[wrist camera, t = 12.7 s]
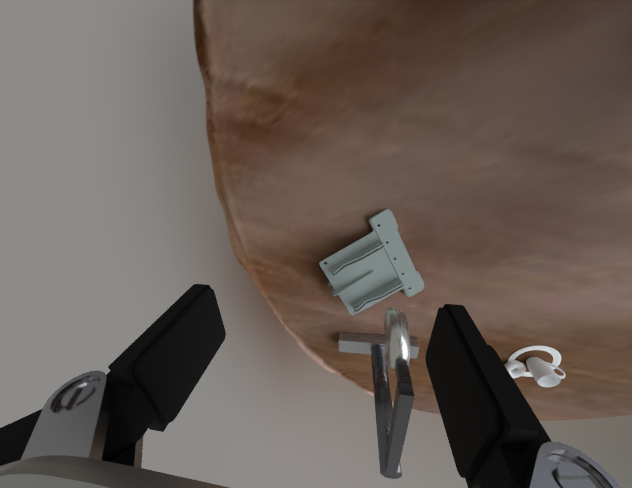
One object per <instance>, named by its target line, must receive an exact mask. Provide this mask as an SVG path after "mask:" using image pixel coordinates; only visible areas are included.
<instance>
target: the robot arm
mask: <svg viewBox="0 0 632 488" xmlns="http://www.w3.org/2000/svg"><path fill="white" fill-rule="evenodd" d="M225 335H226V333H225V329H224V325H223V321H222V318H221V314H220V311H219V308H218V304H217V300H216V297H215V293H214V290H213V289H211V287H210V286H209V285H202V284H195V285H193V286H192V287H191V288H190V289H189V290H188V291H186V293H184V294H183V295H182V296H181V297H180V298H179V299H178V300H177V301H176V302H175V303H174V304H173V305H172V306H171V307H170V308H169V309H168V310H167V311H166V312H165V313H164V314H163V315H161V317H159V318H158V319H157V320H156V321H155V322H154V323H153V324H152V325H151V326H150V327H149V328H148V329H147V330H146V331H145V332H144V333H143V334H142V335H141V336H140V337H139V338H138V339H137V340H135V342H133V343H132V344H131V345H130V346H129V347H128V348H127V349H126V350H125V351H124V352H123V353H122V354H121V355H120V356H119V357H118V358H117V359H116V360H115V361H114V362H113V363H112V364H110V365H109V366H108V367H109V369H110V370H111V371H110V372H109V373H108V374H107V375H106V374H105V373H104V372H101V371H91V372H87V373H84V374H81V375H79V376H77V377H75V378H73V379H72V380H70V381H68V382H67V383H65V384H64V385H63V386H61V387H60V388H59V389H58V390H57V391H55V393H53V394H52V396H51V397H50V398H49V399H48V400H47V402H46V404H45V405H44V407H43V409H41V410H39V411H37V412H35V413H32V414H30V415H28V416H26V417H24V418H21V419H19V420H17V421H15V422H13V423H11V424H8V425H6V426H4V427H2V428H0V488H229V487H224V486H220V485H215V484H211V483H206V482H202V481H197V480H192V479H188V478H183V477H179V476H174V475H170V474H165V473H161V472H156V471H151V470H147V469H142V468H141V462H142V447H143V435H144V433H145V432H146V430H147V429H148V428H149V429H151V430H157V431H162V432H163V431H164V430H165V428H166V427H167V425H168V423H169V422H172V421H173V420H174V419H175V418H176V416H177V415H178V413H179V411H180V410H181V408H182V406H183V405H184V403H185V402H186V400H187V399H188V397H189V395H190V394H191V392H192V391H193V389H194V387H195V386H196V384H197V383H198V381H199V379H200V378H201V376H202V375H203V373H204V371H205V370H206V368H207V366H208V365H209V363H210V362H211V360H212V358H213V357H214V355H215V354H216V352H217V351H218V349H219V347H220V346H221V344H222V343H223V341H224V339H225ZM426 365H427V368H428V372H429V375H430V379H431V382H432V385H433V389H434V392H435V396H436V399H437V402H438V406H439V409H440V413H441V416H442V419H443V423H444V426H445V430H446V433H447V437H448V440H449V443H450V447H451V450H452V454H453V457H454V460H455V463H456V467H457V470H458V472H459V475H460V476H461V477H463V478H465V479H466V482H467V485H468V488H620V486H619V485H618V484H617V483H616V482H615V480H614V479H613V478H612V477H611V476H610V475H609V474H608V473H607V472H606V471H605V470H604V469H603V468H602V467H601V466H600V465H599V464H598V463H596V462H595V461H594V460H592V459H591V458H589V457H588V456H587V455H586V454H584V453H582V452H581V451H579V450H577V449H575V448H573V447H571V446H569V445H566V444H563V443H560V442H551V440H550V438H549V437H548V435H547V433H546V432H545V430H544V428H543V427H542V425H541V424H540V422H539V420H538V419H537V417H536V415H535V414H534V412H533V411H532V409H531V407H530V406H529V404H528V403H527V401H526V399H525V398H524V396H523V395H522V393H521V391H520V390H519V388H518V386H517V385H516V383H515V382H514V380H513V378H512V377H511V375H510V374H509V372H508V370H507V369H506V367H505V366H504V364H503V362H502V361H501V359H500V357H499V356H498V354H497V353H496V351H495V350H494V349H493V347H491V346H490V345H487V344H486V342H485V340H484V339H483V337H482V335H481V334H480V332H479V330H478V329H477V327H476V325H475V324H474V322H473V320H472V319H471V317H470V315H469V314H468V312H467V310H466V309H465V307H464V306H462V305H452V304H445V305H444V307H443V308H439V309H438V313H437V316H436V320H435V323H434V327H433V331H432V334H431V338H430V342H429V345H428V349H427V352H426Z"/></svg>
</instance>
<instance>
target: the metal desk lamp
mask: <svg viewBox="0 0 632 488" xmlns="http://www.w3.org/2000/svg"><path fill="white" fill-rule="evenodd" d="M418 351H419V344H418V341H417V338H414V337H409V329H408V323H407V319H406V316H405V313H404V312H403V311H396V310H393V309H392V308H390V307H389V308H387V311H386V314H385V322H384V335H374V334H361V333H347V332H339V352H348V353H360V354H371V359H372V372H373V384H374V397H375V410H376V423H377V435H378V448H379V461H380V473H381V474H382V475H383V476H384V477H387V478H392V479H395V478H400V477H401V476H402V473H401V466H400V458H401V453H402V449H403V445H404V440H405V435H406V431H407V427H408V422H409V418H410V413H411V409H412V404H413V400H414V393H413V388H412V382H411V378H410V374H409V369H408V366H409V361H410V358H416V359H417V356H418ZM385 356H386V358H385ZM386 360H387V365H388V367H389V369H395V370H396V376H397V387H396V393H395V400H394V406H393V408H392V401H391V394H390V386H389V379H388V372H387V365H386Z"/></svg>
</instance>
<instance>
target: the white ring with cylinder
mask: <svg viewBox="0 0 632 488" xmlns="http://www.w3.org/2000/svg"><path fill="white" fill-rule="evenodd" d="M530 350H543V351H546V352H549V353H550V354H551V355H552V356H553V362H552V364H550V363H548V362H545V361H543V360H542V359H540V358H538V357H530V358H528V359H527V360H526V364H527V367H528V369H529V371H530V372H525V371H526V367H525V365H524V364H523V363H522V362H520V361H516V360H515V358H516V357H517V356H518V355H520V354H522V353H524V352H526V351H530ZM560 362H561V355H560V354H559V352H558V351H557V350H555V349H553V348H551V347H547V346H529V347H525V348H522V349H520V350H518V351H516V352H514V353H513V354H512V355H511V356H510V357H509V359H508V361H507V363H506V364H505V365H504V366H505V367H506V369H507V370H508V372H509V374H510V375H511V377H512V378H517V377H520V376H527V377H534V379H535V380H536V382H537V383H538V384H539V385H540V386H542V387H553V386H556V385H558V384H559V383H560V381H561V379H563V378H564V377H565V372H564V371H563V370H561V369H560V368H558V365H559V364H560ZM549 365H550V366H549ZM555 368H556V369H558V370H559V371H561V372H562V373H563V374H564V375H563V376H560V375H557V374H556V373H555V372H554V371H553V370H554V369H555Z"/></svg>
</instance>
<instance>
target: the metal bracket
mask: <svg viewBox="0 0 632 488" xmlns="http://www.w3.org/2000/svg"><path fill="white" fill-rule="evenodd" d="M369 222H370V224H371V226H372V228H373V231H372V232H371V233H369V234H368V235H366V236H364V237H362V238H361V239H359V240H357V241H355V242H354V243H352V244H350V245H348V246H347V247H345V248H343V249H341V250H340V251H338V252H336V253H335V254H333V255H331V256H329V257H328V258H326V259H324V260H322V261H321V262H319V265H320V267H321V268H322V270H323V271H324V273H325V275H326V276H327V278H328V279H329V282H327V283H328V285H329V287H330V286H332V296H333V297H334V296H336V295H339V297H340V298H341V300H342V301H343V303H344V305H345V306H346V308H347V309H348V311H349V312H350V314H351V315H355V314H357V313H359V312H361V311H362V310H364V309H366V308H368V307H370V306H372V305H373V304H375V303H377V302H379V301H381V300H383V299H384V298H386V297H388V296H390V295H392V294H394V293H395V292H397V291H399V290H401V289H403V290H404V292H405V294H406V296H408V297H411V296H413V295H415V294H416V293H418V292H420V291H422V290H423V289H424V283H423V280H422V278H421V276H420V274H419V272H417V271H416V270H415V268H414V265H413V263H412V261H411V259H410V257H409V255H408V252H407V250H406V248H405V246H404V244H403V242H402V239H401V237H400V235H399V233H398V231H397V228H398V225H397V223H396V220H395V218H394V216H393V213H392V212H391V211H390V210H388V209H385V210H383V211H382V212H380V213H378V214H377V215H375V216H373V217H371V218H370V219H369ZM378 224H380V226H379V227H378ZM387 241H388V243H387V244H386V242H387ZM394 258H396V259H395V260H394ZM324 262H327V264H324ZM402 273H403V274H402ZM401 274H402V275H401ZM409 287H410V289H409ZM354 310H355V312H354Z"/></svg>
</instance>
